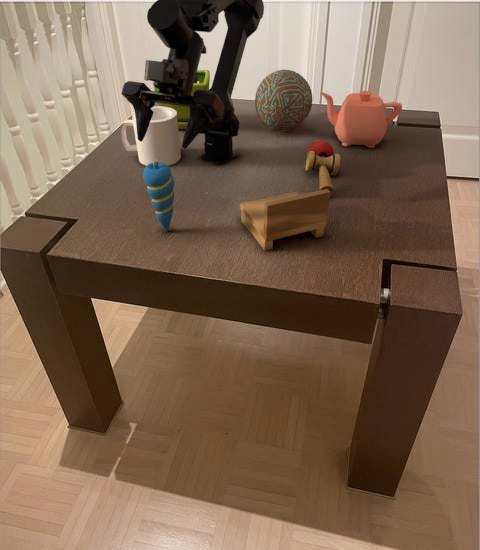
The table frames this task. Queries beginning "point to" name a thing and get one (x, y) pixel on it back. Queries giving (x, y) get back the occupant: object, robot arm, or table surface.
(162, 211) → the ornament
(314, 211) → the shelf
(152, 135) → the mug
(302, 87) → the decorative sphere
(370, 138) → the teapot
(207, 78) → the flower pot
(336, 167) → the kendama
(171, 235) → the table surface
